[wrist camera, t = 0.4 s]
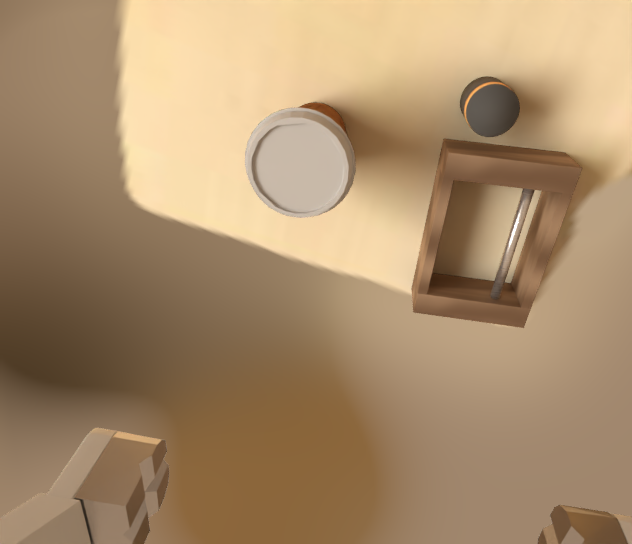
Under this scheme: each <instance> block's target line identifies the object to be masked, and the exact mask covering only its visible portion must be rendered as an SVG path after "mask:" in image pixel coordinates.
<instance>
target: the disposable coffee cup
mask: <svg viewBox="0 0 632 544" xmlns="http://www.w3.org/2000/svg"><path fill="white" fill-rule="evenodd" d="M245 166H246V172H247V175H248V178H249V181H250V184H251V185H252V187H253V189H254V191H255V192H256V194H257V195H258V197H259V198H260V199H261V200H262V201H263V202H264V203H265V204H266V205H267V206H268V207H270V208H271V209H273V210H275V211H276V212H279V213H281V214H283V215H286V216H291V217H299V218H303V217H311V216H316V215H320V214H322V213H325V212H327V211H329V210H331V209H333V208H334V207H336V206H337V205H338V204H339V203H340V202H341V201H342V200H343V199H344V197H345V196H346V195H347V194H348V192H349V190H350V188H351V186H352V184H353V179H354V175H355V154H354V150H353V147H352V144H351V142H350V140H349V138H348V136H347V135H346V129H345V124H344V122H343V120H342V118H341V116H340V115H339V114H338V113H337V112H336V111H335V110H334V109H333V108H331V107H330V106H328V105H325V104H322V103H308V104H304V105H302V106H300V107H298V108H287V109H282V110H279V111H277V112H275V113H273V114H271V115H269V116H268V117H266V118H265V119H264V120H263V121H261V122H260V123H259V124H258V126H257V127H256V128H255V129H254V131H253V132H252V134H251V136H250V138H249V140H248V143H247V148H246V152H245Z"/></svg>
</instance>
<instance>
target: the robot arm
mask: <svg viewBox="0 0 632 544" xmlns="http://www.w3.org/2000/svg"><path fill="white" fill-rule="evenodd" d="M166 452H167V448H166V441H165V440H160V439H155V438H149V437H144V436H139V435H134V434H129V433H124V432H119V431H113V430H107V429H101V428H94V429H93V430H92V431H91V432H90V433H88V435H87V436H86V437H85V439H84V440H83V442H82V443H81V445H80V446H79V448H78V449H77V451H76V452H75V454H74V455H73V457H72V458H71V459H70V461H69V462H68V464H67V466H66V467H65V468H64V470H63V471H62V473H61V474H60V476H59V477H58V479H57V480H56V481H55V483H54V484H53V486H52V487H51V489H50V490H49V492H48V493H47V494H43V493H39V494H38V495H36V496H34V497H33V498H31V499H30V500H28V501H27V502H25V503H23V504H22V505H20V506H18V507H17V508H15V509H13V510H12V511H10V512H9V513H7V514H5V515H4V516H2V517H1V518H0V544H144V543H145V540H146V538H147V536H148V534H149V531H150V527H149V520H148V518H149V517H151V516H152V515H153V514H155V513H156V512H157V511H159V509H160V506H161V504H162V502H163V499H164V497H165V493H166V489H167V486H168V480H169V465H168V464H167V463H166V462H165V461H164V460H163V459H164V457H165V454H166ZM550 517H551V520H552V524H551V525H549V526H547V527H545V528H543V529H542V531H541V533H540V536H539V538H538V544H632V516H625V515H619V514H612V513H608V512H605V511H598V510H591V509H585V508H578V507H571V506H565V505H558V506H556V507H554V509H553V511H552V512H551V514H550Z"/></svg>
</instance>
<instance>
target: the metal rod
mask: <svg viewBox="0 0 632 544" xmlns="http://www.w3.org/2000/svg"><path fill="white" fill-rule="evenodd" d="M533 193H534V190H533V189H525V188H523V191H522V195H521V198H520V201H519V204H518V207H517V211H516V214H515V217H514V220H513V223H512V227H511V230H510V233H509V236H508V240H507V243H506V246H505V249H504V252H503V256H502V259H501V262H500V265H499V268H498V272H497V275H496V278H495V281H494V284H493V288H492V291H491V294H490V297H491V298H493V299H499V298H500V295H501V292H502V289H503V285H504V282H505V279H506V276H507V273H508V270H509V267H510V264H511V261H512V258H513V255H514V252H515V248H516V245H517V242H518V239H519V236H520V233H521V230H522V227H523V224H524V221H525V218H526V214H527V211H528V208H529V205H530V202H531V199H532V196H533Z"/></svg>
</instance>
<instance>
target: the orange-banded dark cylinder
mask: <svg viewBox="0 0 632 544" xmlns="http://www.w3.org/2000/svg"><path fill="white" fill-rule="evenodd" d="M460 108H461V111H462V114H463V115H464V117H465V119H466V121H467V123H468V125H469V126H470V128H471V129H472V130H473V131H474V132H476V133H477V134H479V135H481V136H485V137H494V136H498V135H501V134H503V133H505V132H506V131H508V130H509V129H510V128H511V127H512V126H513V125H514V123H515V122H516V120H517V118H518V115H519V109H520V107H519V101H518V98H517V96H516V94H515V93H514V92H513V90H511V89H510V88H509V87H508V86H507V85H505V84H503V83H502V82H501V81H499V80H498V79H496V78H493V77H481V78H478V79H476V80H474V81H472V82H471V83H470V84H469V85H468V86H467V87H466V88H465V89H464V91H463V93H462V96H461V100H460Z"/></svg>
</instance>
